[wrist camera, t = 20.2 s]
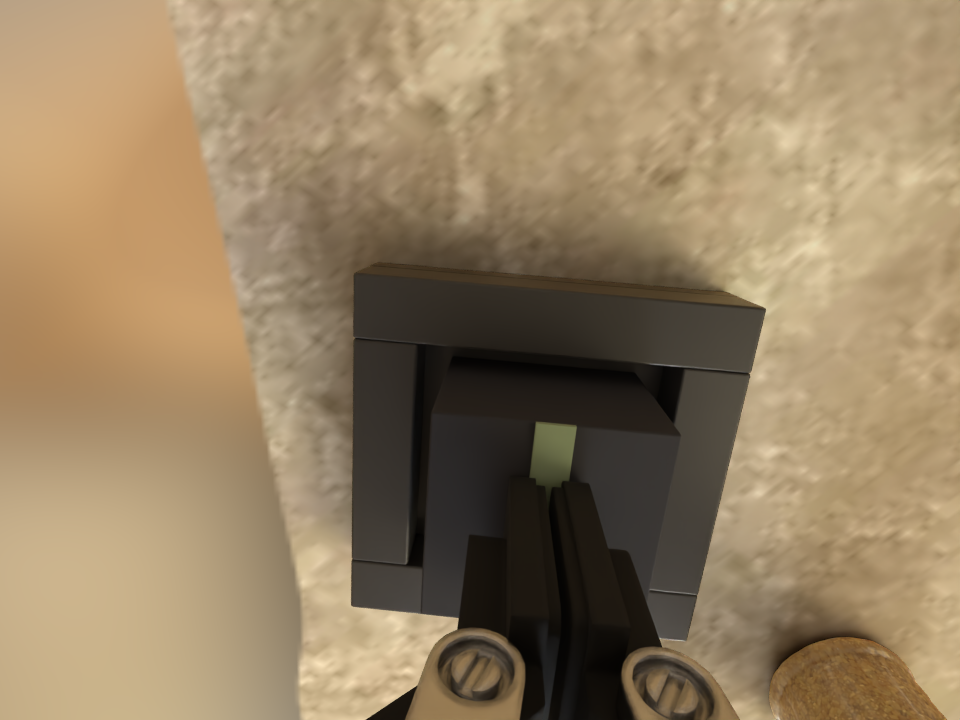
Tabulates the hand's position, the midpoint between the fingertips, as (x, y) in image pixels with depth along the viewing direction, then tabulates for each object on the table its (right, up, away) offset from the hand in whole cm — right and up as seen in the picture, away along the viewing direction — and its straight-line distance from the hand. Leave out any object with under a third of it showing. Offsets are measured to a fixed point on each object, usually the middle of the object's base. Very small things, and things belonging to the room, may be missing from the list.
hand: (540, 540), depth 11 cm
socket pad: (0, +1, +5) cm, 5 cm away
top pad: (0, +1, +4) cm, 4 cm away
